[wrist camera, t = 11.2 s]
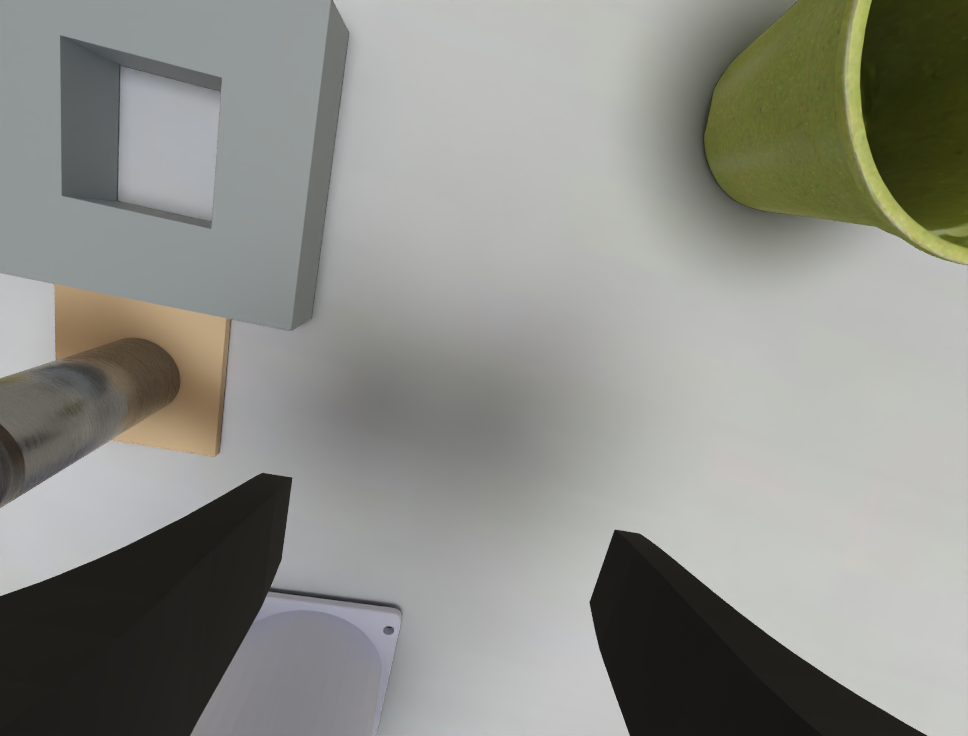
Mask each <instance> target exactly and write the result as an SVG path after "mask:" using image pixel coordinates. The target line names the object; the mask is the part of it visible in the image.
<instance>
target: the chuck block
mask: <svg viewBox="0 0 968 736" xmlns="http://www.w3.org/2000/svg"><path fill="white" fill-rule="evenodd" d="M348 37H349V31H348V29H347V28H346V26H345V24H344V22H343V20H342V18H341V16H340V14H339V12H338V10H337V8H336V6H335V4H334V2H333V0H0V273H3V274H8V275H13V276H18V277H23V278H28V279H33V280H38V281H43V282H48V283H53V284H58V285H63V286H68V287H73V288H78V289H83V290H88V291H93V292H98V293H103V294H108V295H113V296H118V297H123V298H128V299H133V300H138V301H143V302H148V303H153V304H158V305H163V306H168V307H173V308H178V309H183V310H188V311H193V312H198V313H203V314H208V315H213V316H218V317H223V318H228V319H233V320H238V321H243V322H248V323H253V324H258V325H263V326H268V327H273V328H278V329H283V330H288V331H292V330H293V329H295V328H297V327H298V326H300V325H301V324H303V323H305V322H306V321H308V320H309V319H311V318H312V311H313V303H314V296H315V288H316V280H317V273H318V265H319V258H320V250H321V242H322V235H323V227H324V220H325V212H326V204H327V197H328V189H329V182H330V174H331V166H332V159H333V151H334V144H335V136H336V128H337V121H338V113H339V106H340V98H341V90H342V83H343V75H344V68H345V60H346V52H347V45H348ZM120 65H121V66H125V67H129V68H133V69H136V70H140V71H144V72H148V73H152V74H156V75H160V76H163V77H167V78H171V79H175V80H179V81H183V82H187V83H190V84H194V85H198V86H202V87H206V88H210V89H214V90H218V91H221V99H220V113H219V127H218V141H217V156H216V170H215V184H214V198H213V212H212V222H209V221H204V220H200V219H196V218H191V217H187V216H182V215H178V214H173V213H169V212H164V211H160V210H155V209H151V208H146V207H142V206H138V205H133V204H129V203H124V202H120V201H117V171H118V120H119V68H120Z"/></svg>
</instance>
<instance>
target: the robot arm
mask: <svg viewBox="0 0 968 736" xmlns="http://www.w3.org/2000/svg"><path fill="white" fill-rule="evenodd" d="M291 484H292V478H291V477H285V476H278V475H272V474H266V473H261V474H259V475H257V476H256V477H254V478H252V479H250V480H248V481H247V482H245V483H243V484H242V485H240V486H238V487H236V488H235V489H233V490H231V491H230V492H228V493H226V494H224V495H223V496H221V497H219V498H217V499H216V500H214V501H212V502H210V503H208V504H207V505H205V506H203V507H201V508H199V509H198V510H196V511H194V512H192V513H190V514H189V515H187V516H185V517H183V518H181V519H179V520H177V521H175V522H173V523H171V524H169V525H167V526H165V527H163V528H161V529H159V530H157V531H155V532H153V533H151V534H149V535H147V536H145V537H143V538H141V539H139V540H137V541H135V542H133V543H131V544H129V545H127V546H125V547H123V548H121V549H119V550H117V551H114V552H112V553H110V554H108V555H105V556H103V557H101V558H99V559H96V560H94V561H92V562H89V563H87V564H84V565H82V566H79V567H77V568H75V569H72V570H70V571H67V572H65V573H62V574H60V575H58V576H55V577H52V578H50V579H47V580H45V581H42V582H40V583H37V584H34V585H31V586H28V587H25V588H22V589H20V590H17V591H14V592H11V593H8V594H5V595H3V596H0V736H376V734H377V730H378V725H379V721H380V716H381V712H382V707H383V703H384V698H385V694H386V689H387V685H388V680H389V675H390V671H391V666H392V662H393V657H394V653H395V648H396V644H397V639H398V635H399V630H400V626H401V620H402V614H401V612H400V611H399V610H398V609H395V608H390V607H383V606H375V605H367V604H360V603H352V602H344V601H336V600H329V599H321V598H313V597H306V596H298V595H290V594H282V593H275V592H268V591H269V589H270V586H271V584H272V582H273V579H274V577H275V574H276V572H277V569H278V567H279V565H280V562H281V559H282V552H283V544H284V537H285V529H286V522H287V514H288V506H289V499H290V491H291ZM590 607H591V612H592V617H593V622H594V627H595V632H596V636H597V640H598V645H599V649H600V652H601V655H602V658H603V661H604V664H605V667H606V669H607V672H608V675H609V678H610V681H611V684H612V687H613V690H614V692H615V695H616V698H617V701H618V704H619V706H620V709H621V712H622V715H623V718H624V720H625V723H626V726H627V729H628V732H629V734H630V736H927V735H925V734H923V733H921V732H920V731H918V730H916V729H914V728H913V727H911V726H909V725H907V724H905V723H904V722H902V721H900V720H899V719H897V718H895V717H894V716H892V715H890V714H889V713H887V712H885V711H884V710H882V709H880V708H879V707H877V706H875V705H874V704H872V703H870V702H869V701H867V700H865V699H864V698H862V697H860V696H858V695H857V694H855V693H854V692H852V691H851V690H849V689H847V688H846V687H844V686H843V685H841V684H839V683H838V682H836V681H835V680H833V679H832V678H830V677H829V676H827V675H826V674H824V673H823V672H821V671H820V670H818V669H817V668H815V667H814V666H812V665H811V664H809V663H808V662H806V661H805V660H803V659H802V658H800V657H799V656H797V655H796V654H794V653H793V652H792V651H790V650H789V649H787V648H786V647H785V646H783V645H782V644H780V643H779V642H778V641H776V640H775V639H773V638H772V637H771V636H769V635H768V634H767V633H765V632H764V631H763V630H761V629H760V628H759V627H757V626H756V625H755V624H754V623H752V622H751V621H750V620H748V619H747V618H746V617H744V616H743V615H742V614H740V613H739V612H738V611H737V610H735V609H734V608H733V607H731V606H730V605H729V604H728V603H726V602H725V601H724V600H723V599H721V598H720V597H719V596H718V595H716V594H715V593H714V592H713V591H712V590H710V589H709V588H708V587H707V586H705V585H704V584H703V583H702V582H701V581H699V580H698V579H697V578H696V577H695V576H693V575H692V574H691V573H690V572H688V571H687V570H686V569H685V568H684V567H682V566H681V565H680V564H679V563H678V562H676V561H675V560H674V559H673V558H671V557H670V556H669V555H668V554H667V553H665V552H664V551H663V550H662V549H660V548H659V547H658V546H656V545H655V544H654V543H652V542H651V541H650V540H648V539H647V538H645V537H644V536H642V535H641V534H639V533H633V532H626V531H620V530H614V533H613V536H612V539H611V542H610V545H609V548H608V551H607V554H606V556H605V559H604V562H603V565H602V568H601V571H600V574H599V577H598V580H597V583H596V585H595V588H594V591H593V594H592V597H591V600H590ZM386 626H391V627H393V628H387V627H386Z"/></svg>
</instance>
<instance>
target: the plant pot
mask: <svg viewBox="0 0 968 736" xmlns="http://www.w3.org/2000/svg"><path fill="white" fill-rule="evenodd" d="M704 145H705V152H706V157H707V160H708V164H709V166H710V169H711V171H712V173H713V175H714V177H715V179H716V181H717V182H718V184H719V185H720V187H721V188H722V189H723V190H724V191H725V192H726V193H727V194H728V195H729V196H730V197H731V198H733V199H734V200H736V201H737V202H739V203H741V204H743V205H745V206H748V207H751V208H755V209H759V210H762V211H769V212H776V213H783V214H791V215H799V216H806V217H814V218H821V219H828V220H834V221H841V222H848V223H855V224H861V225H868V226H875V227H878V228H880V229H882V230H884V231H885V232H888V233H890V234H893V235H895V236H898V237H900V238H902V239H903V240H905V241H906V242H908V243H909V244H911V245H912V246H914V247H916V248H917V249H919V250H921V251H923V252H925V253H928V254H930V255H932V256H935V257H937V258H940V259H943V260H947V261H950V262H954V263H958V264H964V265H968V0H799V1H798V2H796V3H795V4H794V5H793V6H792V7H791V8H790V9H789V10H788V11H787V12H786V13H784V14H783V15H782V16H781V17H780V18H779V19H778V20H777V21H776V22H774V23H773V24H772V25H771V26H770V27H769V28H768V29H767V30H765V31H764V32H763V33H762V34H761V35H760V36H759V37H758V38H757V39H756V40H755V41H753V42H752V43H751V44H750V45H749V46H748V47H747V48H746V49H745V50H744V51H742V52H741V53H740V54H739V55H738V56H737V57H736V58H735V59H734V60H733V62H732V63H731V64H730V65H729V67H728V68H727V69H726V71H725V72H724V73H723V75H722V76H721V78H720V79H719V81H718V83H717V85H716V87H715V89H714V92H713V97H712V102H711V107H710V112H709V117H708V122H707V126H706V130H705V135H704Z"/></svg>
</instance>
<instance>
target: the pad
mask: <svg viewBox="0 0 968 736" xmlns="http://www.w3.org/2000/svg"><path fill="white" fill-rule="evenodd" d="M230 322H231V319H228V318H223V317H218V316H213V315H208V314H203V313H198V312H193V311H188V310H183V309H178V308H173V307H168V306H163V305H158V304H153V303H148V302H143V301H138V300H133V299H128V298H123V297H118V296H113V295H108V294H103V293H98V292H93V291H88V290H83V289H78V288H73V287H68V286H63V285H58V284H55V348H56V360H58V359H62V358H65V357H68V356H71V355H74V354H77V353H80V352H83V351H86V350H89V349H92V348H95V347H98V346H101V345H104V344H107V343H111V342H114V341H117V340H120V339H123V338H141V339H146V340H149V341H151V342H153V343H156V344H157V345H159V346H160V347H162V348H163V349H164V350H166V351H167V352H168V353H169V354H170V356H171V357H172V358H173V360H174V361H175V363H176V365H177V367H178V369H179V373H180V380H181V381H180V388H179V392H178V394H177V396H176V397H175V399H174V400H173V401H172V402H171V403H170V404H169V405H167V406H166V407H164V408H162V409H161V410H159V411H157V412H156V413H154V414H153V415H151V416H149V417H148V418H146V419H144V420H143V421H141V422H139V423H138V424H136V425H135V426H133V427H131V428H130V429H128V430H126V431H125V432H123V433H122V434H120V435H118V436H117V437H115V438H113V439H112V440H114V441H120V442H126V443H132V444H138V445H145V446H151V447H157V448H163V449H169V450H175V451H181V452H187V453H194V454H200V455H206V456H212V457H215V456H216V455H217V454H218V453H219V451H220V439H221V427H222V416H223V404H224V392H225V381H226V369H227V357H228V346H229V334H230Z"/></svg>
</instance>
